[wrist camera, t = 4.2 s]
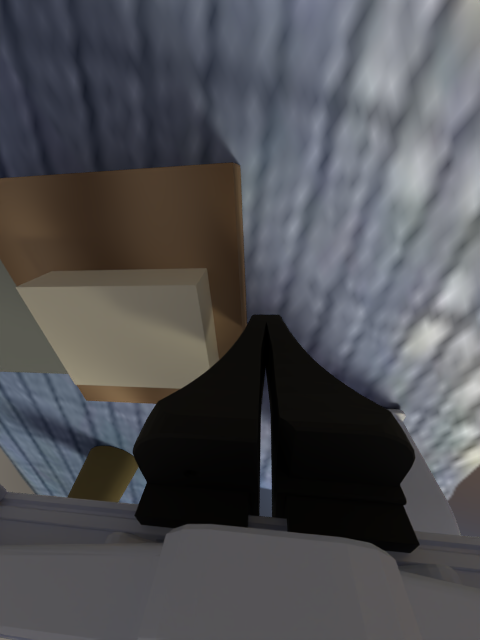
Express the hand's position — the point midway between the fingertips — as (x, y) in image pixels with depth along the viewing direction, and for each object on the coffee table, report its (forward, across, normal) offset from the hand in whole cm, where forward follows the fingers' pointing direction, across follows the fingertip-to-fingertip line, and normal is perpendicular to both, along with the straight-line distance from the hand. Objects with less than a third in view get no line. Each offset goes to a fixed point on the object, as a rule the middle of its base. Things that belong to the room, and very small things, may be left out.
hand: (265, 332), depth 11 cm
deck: (+4, +7, 0) cm, 8 cm away
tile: (+1, +7, 0) cm, 7 cm away
